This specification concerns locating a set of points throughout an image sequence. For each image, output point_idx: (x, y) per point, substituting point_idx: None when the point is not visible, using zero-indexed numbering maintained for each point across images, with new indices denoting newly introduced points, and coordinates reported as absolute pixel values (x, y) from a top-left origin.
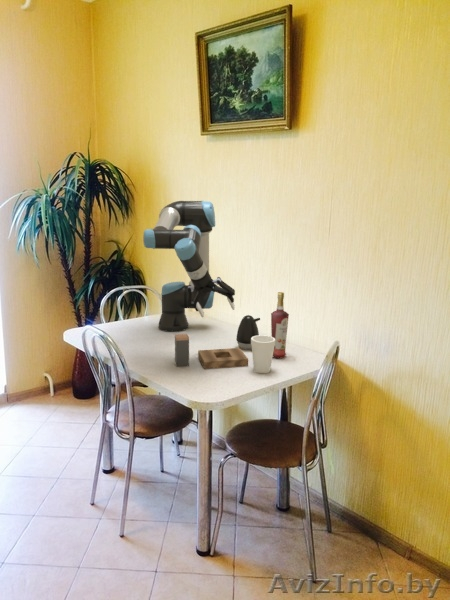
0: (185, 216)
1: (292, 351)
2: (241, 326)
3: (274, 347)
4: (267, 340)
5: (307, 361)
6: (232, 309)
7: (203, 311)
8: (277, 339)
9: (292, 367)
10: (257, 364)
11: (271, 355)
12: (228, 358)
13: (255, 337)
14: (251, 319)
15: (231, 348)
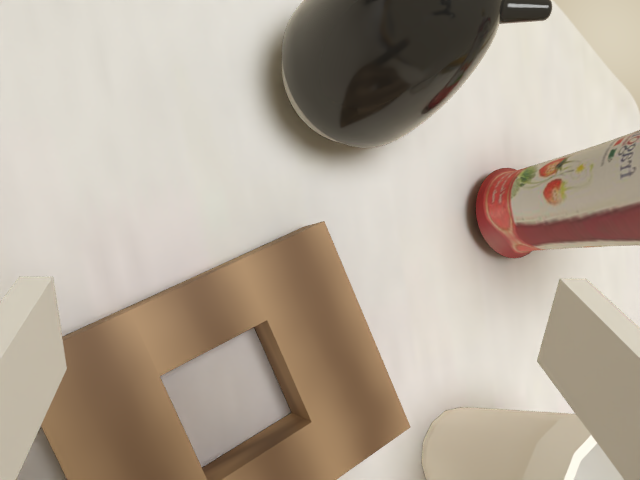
0: None
1: (546, 119)
2: (383, 65)
3: (535, 243)
4: None
5: (611, 255)
6: (541, 365)
7: (43, 292)
8: (594, 246)
9: None
10: None
11: None
12: (294, 466)
13: (567, 477)
14: (493, 30)
15: (275, 245)
